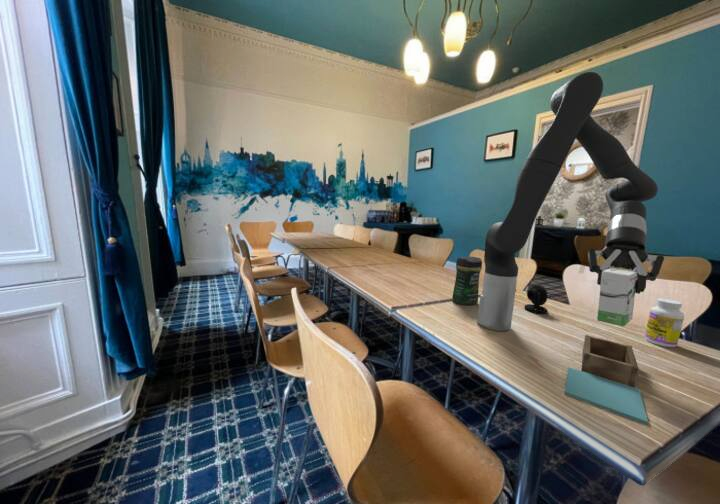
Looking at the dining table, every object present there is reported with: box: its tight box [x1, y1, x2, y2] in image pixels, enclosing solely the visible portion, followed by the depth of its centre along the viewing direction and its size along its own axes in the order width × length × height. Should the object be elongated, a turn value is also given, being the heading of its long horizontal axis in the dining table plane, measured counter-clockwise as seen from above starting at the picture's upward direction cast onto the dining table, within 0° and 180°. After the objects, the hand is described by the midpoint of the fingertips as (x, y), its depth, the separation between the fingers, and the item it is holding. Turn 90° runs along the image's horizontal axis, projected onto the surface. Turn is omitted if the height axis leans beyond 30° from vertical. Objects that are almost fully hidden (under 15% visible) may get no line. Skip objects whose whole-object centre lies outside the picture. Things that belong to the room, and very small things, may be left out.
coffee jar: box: [451, 256, 483, 306], centre depth 110 cm, size 10×8×19 cm
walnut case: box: [581, 334, 639, 388], centre depth 67 cm, size 9×13×4 cm
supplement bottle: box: [644, 297, 685, 348], centre depth 81 cm, size 7×7×13 cm
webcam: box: [523, 284, 549, 315], centre depth 104 cm, size 8×8×10 cm
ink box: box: [597, 267, 637, 327], centre depth 65 cm, size 9×5×12 cm, turn 126°
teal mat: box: [563, 366, 649, 425], centre depth 58 cm, size 12×12×1 cm
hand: (620, 288), depth 65 cm, fingers closed on ink box, 5 cm apart
